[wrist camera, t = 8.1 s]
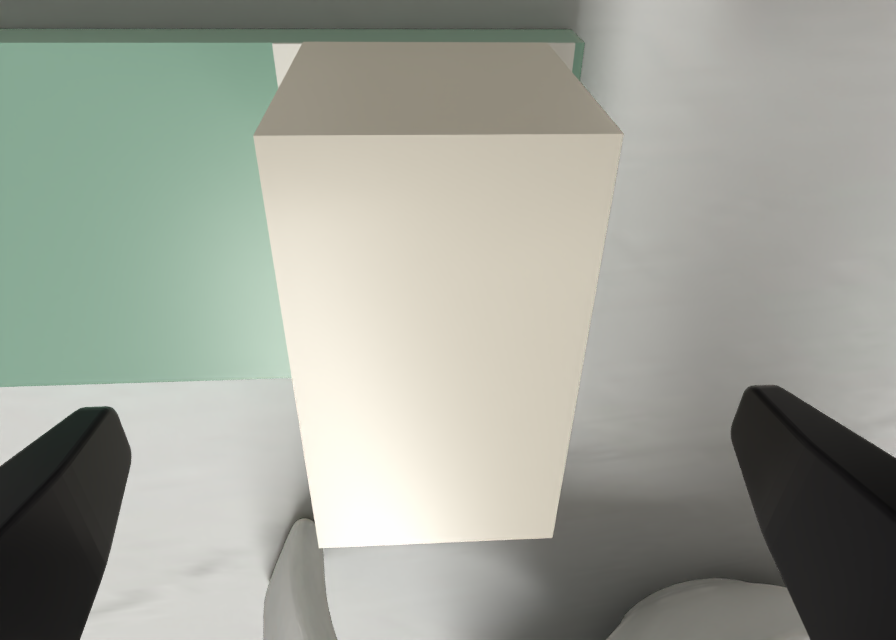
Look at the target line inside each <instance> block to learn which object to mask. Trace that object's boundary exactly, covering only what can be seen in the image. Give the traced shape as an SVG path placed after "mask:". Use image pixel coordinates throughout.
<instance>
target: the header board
mask: <svg viewBox="0 0 896 640" xmlns="http://www.w3.org/2000/svg"><path fill="white" fill-rule="evenodd" d="M303 42H547V43H548V44H549V45H550V46H551V48H552V49H553V50H554V51H555V52H556V54H557V55H558V56H559V57H560V58H561V60H562V61H563V62H564V63H565V64H566V65H567V67H568V68H569V69H570V70H571V71H572V73H573V74H574V75H575V76H576V77H577V79H578V80H579V81H580V76H581V68H582V60H583V52H584V44H585V42H584V41H583V40H581V39H580V38H579V37H578V36H577V35H576V34H575V33H574V32H573V31H572V30H571V29H0V387H16V386H48V385H81V384H113V383H146V382H178V381H211V380H243V379H276V378H292V376H291V370H290V364H289V358H288V351H287V345H286V339H285V333H284V326H283V320H282V314H281V308H280V301H279V295H278V289H277V282H276V276H275V270H274V264H273V257H272V251H271V245H270V239H269V232H268V226H267V220H266V213H265V207H264V201H263V195H262V188H261V182H260V176H259V170H258V163H257V157H256V151H255V145H254V138H253V135H254V133H255V131H256V129H257V127H258V126H259V124H260V122H261V120H262V118H263V116H264V114H265V112H266V110H267V109H268V107H269V105H270V103H271V101H272V99H273V97H274V95H275V94H276V92H277V90H278V88H279V86H280V84H281V82H282V80H283V79H284V77H285V75H286V73H287V71H288V69H289V67H290V65H291V63H292V62H293V60H294V58H295V56H296V54H297V52H298V50H299V48H300V47H301V45H302V43H303Z"/></svg>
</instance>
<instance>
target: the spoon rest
mask: <svg viewBox="0 0 896 640" xmlns="http://www.w3.org/2000/svg"><path fill="white" fill-rule="evenodd" d="M263 639H264V640H337V637H336V634H335V631H334V628H333V625H332V621H331V616H330V612H329V608H328V603H327V595H326V585H325V574H324V554H323V548H319V546H318V539H317V533H316V527H315V522H313V521H312V520H310V519H307V518H303V519H299V520H298V521H296V523H295V524H294V525H293V527H292V529H291V531H290V533H289V535H288V537H287V540H286V542H285V544H284V547H283V549H282V552H281V554H280V557H279V559H278V561H277V564H276V566H275V569H274V572H273V574H272V577H271V580H270V582H269V585H268V588H267V592H266V596H265V601H264V614H263ZM606 640H810V638H809V636H808V634H807V631H806V629H805V627H804V625H803V623H802V620H801V618H800V616H799V614H798V612H797V609H796V607H795V605H794V603H793V601H792V598H791V596H790V594H789V592H788V590H787V587H781V586H776V585H769V584H761V583H749V582H745V581H740V580H735V579H723V578H708V579H697V580H691V581H686V582H682V583H678V584H675V585H672V586H669V587H666V588H664V589H662V590H659V591H657V592H655V593H653V594H651V595H649V596H648V597H646V598H644V599H643V600H641V601H640V602H638V603H637V604H636V605H635V606H633V607H632V608H631V609H630V610H629V611H628V612H627V613H626V614H625V616H624V617H623V619H622V620H621V623H620V625H619V626H618V627H617V628H616V629H615V630H614V631H613V632H612V633H611V635H610V636H609V637H608V638H607V639H606Z"/></svg>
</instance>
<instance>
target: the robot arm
mask: <svg viewBox="0 0 896 640" xmlns="http://www.w3.org/2000/svg"><path fill="white" fill-rule="evenodd" d="M731 440H732V444H733V447H734V450H735V453H736V456H737V459H738V462H739V465H740V468H741V471H742V474H743V477H744V480H745V483H746V486H747V489H748V492H749V495H750V499H751V502H752V505H753V508H754V511H755V514H756V517H757V520H758V522H759V525H760V528H761V531H762V533H763V536H764V538H765V541H766V543H767V545H768V548H769V550H770V552H771V554H772V557H773V559H774V561H775V563H776V565H777V568H778V570H779V572H780V574H781V576H782V579H783V581H784V583H785V585H786V587H787V590H788V592H789V594H790V596H791V598H792V601H793V603H794V605H795V607H796V609H797V612H798V614H799V616H800V618H801V620H802V623H803V625H804V627H805V629H806V631H807V634H808V636H809V638H810V640H896V458H895V457H893V456H891V455H890V454H888V453H887V452H885V451H883V450H882V449H880V448H878V447H877V446H875V445H874V444H872V443H870V442H869V441H867V440H866V439H864V438H862V437H861V436H859V435H857V434H856V433H854V432H853V431H851V430H849V429H848V428H846V427H845V426H843V425H841V424H840V423H838V422H836V421H835V420H833V419H832V418H830V417H828V416H827V415H825V414H823V413H822V412H820V411H819V410H817V409H815V408H814V407H812V406H811V405H809V404H807V403H806V402H804V401H802V400H801V399H799V398H798V397H796V396H794V395H793V394H791V393H790V392H788V391H786V390H785V389H783V388H781V387H779V386H777V385H754V386H750V387H748V388H747V389H746V390H745V391H744V393H743V396H742V398H741V401H740V404H739V407H738V409H737V412H736V415H735V417H734V420H733V423H732V426H731ZM130 465H131V449H130V445H129V443H128V440H127V438H126V435H125V432H124V430H123V427H122V425H121V422H120V419H119V417H118V414H117V412H116V411H115V410H114V409H113V408H111V407H107V406H105V407H84V408H80V409H78V410H76V411H75V412H73V413H72V414H71V415H69V416H68V417H67V418H65V419H64V420H63V421H61V422H60V423H58V424H57V425H56V426H54V427H53V428H52V429H50V430H49V431H48V432H46V433H45V434H43V435H42V436H41V437H39V438H38V439H37V440H35V441H34V442H33V443H31V444H30V445H28V446H27V447H26V448H24V449H23V450H22V451H20V452H19V453H18V454H16V455H15V456H13V457H12V458H11V459H9V460H8V461H7V462H5V463H4V464H3V465H1V466H0V640H80V638H81V635H82V633H83V630H84V627H85V624H86V621H87V619H88V616H89V613H90V610H91V608H92V605H93V602H94V599H95V597H96V594H97V591H98V588H99V586H100V583H101V580H102V577H103V574H104V571H105V568H106V565H107V561H108V557H109V553H110V550H111V546H112V541H113V537H114V533H115V529H116V525H117V520H118V516H119V512H120V508H121V503H122V499H123V495H124V491H125V486H126V482H127V478H128V474H129V470H130Z"/></svg>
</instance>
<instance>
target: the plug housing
mask: <svg viewBox="0 0 896 640" xmlns="http://www.w3.org/2000/svg"><path fill="white" fill-rule="evenodd" d="M623 135H624V134H623V132H622V131H621V130H620V129H619V128H618V126H617V125H616V124H615V123H614V122H613V120H612V119H611V118H610V117H609V116H608V114H607V113H606V112H605V111H604V110H603V108H602V107H601V106H600V105H599V104H598V103H597V101H596V100H595V99H594V98H593V97H592V95H591V94H590V93H589V92H588V91H587V89H586V88H585V87H584V86H583V85H582V83H581V82H580V81H579V80H578V79H577V77H576V76H575V75H574V74H573V73H572V71H571V70H570V69H569V68H568V67H567V65H566V64H565V63H564V62H563V61H562V60H561V58H560V57H559V56H558V55H557V54H556V52H555V51H554V50H553V49H552V48H551V46H550V45H549V44H548V43H547V42H303V43H302V45H301V47H300V48H299V50H298V52H297V54H296V56H295V58H294V60H293V62H292V63H291V65H290V67H289V69H288V71H287V73H286V75H285V77H284V79H283V80H282V82H281V84H280V86H279V88H278V90H277V92H276V94H275V95H274V97H273V99H272V101H271V103H270V105H269V107H268V109H267V110H266V112H265V114H264V116H263V118H262V120H261V122H260V124H259V126H258V127H257V129H256V131H255V133H254V135H253V138H254V145H255V151H256V157H257V163H258V170H259V176H260V182H261V188H262V195H263V201H264V207H265V213H266V220H267V226H268V232H269V239H270V245H271V251H272V257H273V264H274V270H275V276H276V282H277V289H278V295H279V301H280V308H281V314H282V320H283V326H284V333H285V339H286V345H287V351H288V358H289V364H290V370H291V376H292V383H293V389H294V395H295V402H296V408H297V414H298V420H299V427H300V433H301V439H302V445H303V452H304V458H305V464H306V470H307V477H308V483H309V489H310V496H311V502H312V508H313V514H314V521H315V527H316V533H317V539H318V546H319V548H336V547H358V546H381V545H404V544H427V543H449V542H472V541H495V540H517V539H540V538H553V532H554V526H555V521H556V515H557V509H558V504H559V498H560V492H561V487H562V481H563V475H564V470H565V464H566V458H567V453H568V447H569V441H570V436H571V430H572V424H573V419H574V413H575V407H576V402H577V396H578V390H579V385H580V379H581V373H582V368H583V362H584V356H585V351H586V345H587V339H588V334H589V328H590V322H591V317H592V311H593V305H594V300H595V294H596V288H597V283H598V277H599V271H600V266H601V260H602V254H603V249H604V243H605V237H606V232H607V226H608V220H609V215H610V209H611V203H612V198H613V192H614V186H615V181H616V175H617V169H618V164H619V158H620V152H621V147H622V141H623Z"/></svg>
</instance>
